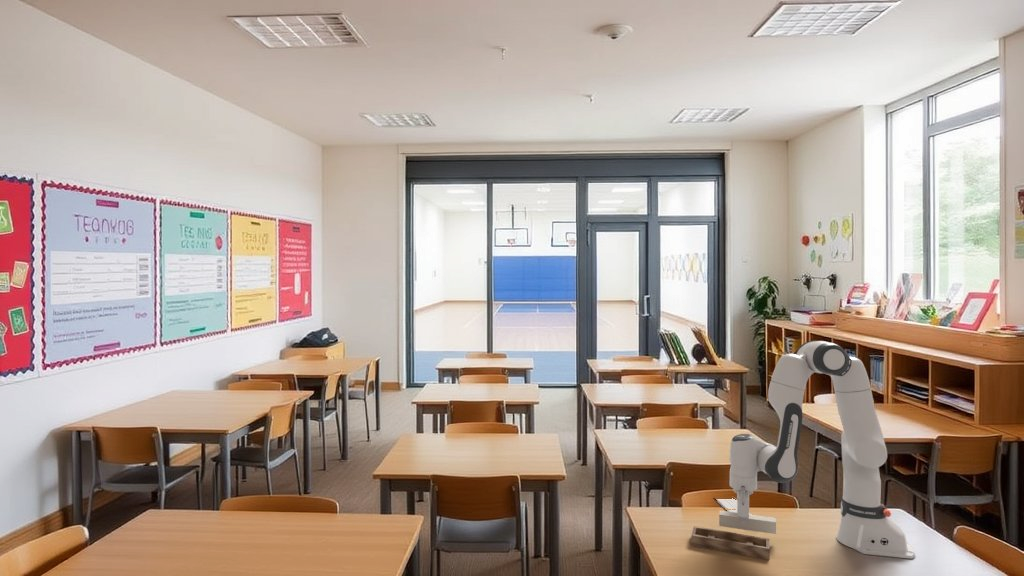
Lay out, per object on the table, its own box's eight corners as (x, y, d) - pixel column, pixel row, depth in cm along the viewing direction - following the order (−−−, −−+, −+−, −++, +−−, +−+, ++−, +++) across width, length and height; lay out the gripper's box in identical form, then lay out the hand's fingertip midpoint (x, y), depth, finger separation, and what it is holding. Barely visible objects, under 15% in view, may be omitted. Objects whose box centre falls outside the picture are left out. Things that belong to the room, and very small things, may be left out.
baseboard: (737, 499, 241) (713, 499, 241) (737, 492, 241) (713, 492, 241) (772, 531, 211) (744, 531, 211) (772, 523, 211) (745, 523, 211)
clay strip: (775, 529, 202) (775, 517, 202) (776, 534, 198) (776, 522, 198) (719, 521, 208) (719, 510, 208) (719, 526, 205) (719, 514, 205)
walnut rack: (768, 549, 195) (769, 538, 195) (769, 559, 188) (769, 549, 188) (693, 536, 205) (693, 525, 204) (691, 545, 197) (691, 535, 197)
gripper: (753, 493, 193) (753, 535, 193) (752, 474, 212) (752, 512, 212) (732, 490, 195) (732, 532, 195) (733, 472, 214) (733, 510, 214)
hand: (743, 522), depth 204 cm, fingers closed on clay strip, 4 cm apart
